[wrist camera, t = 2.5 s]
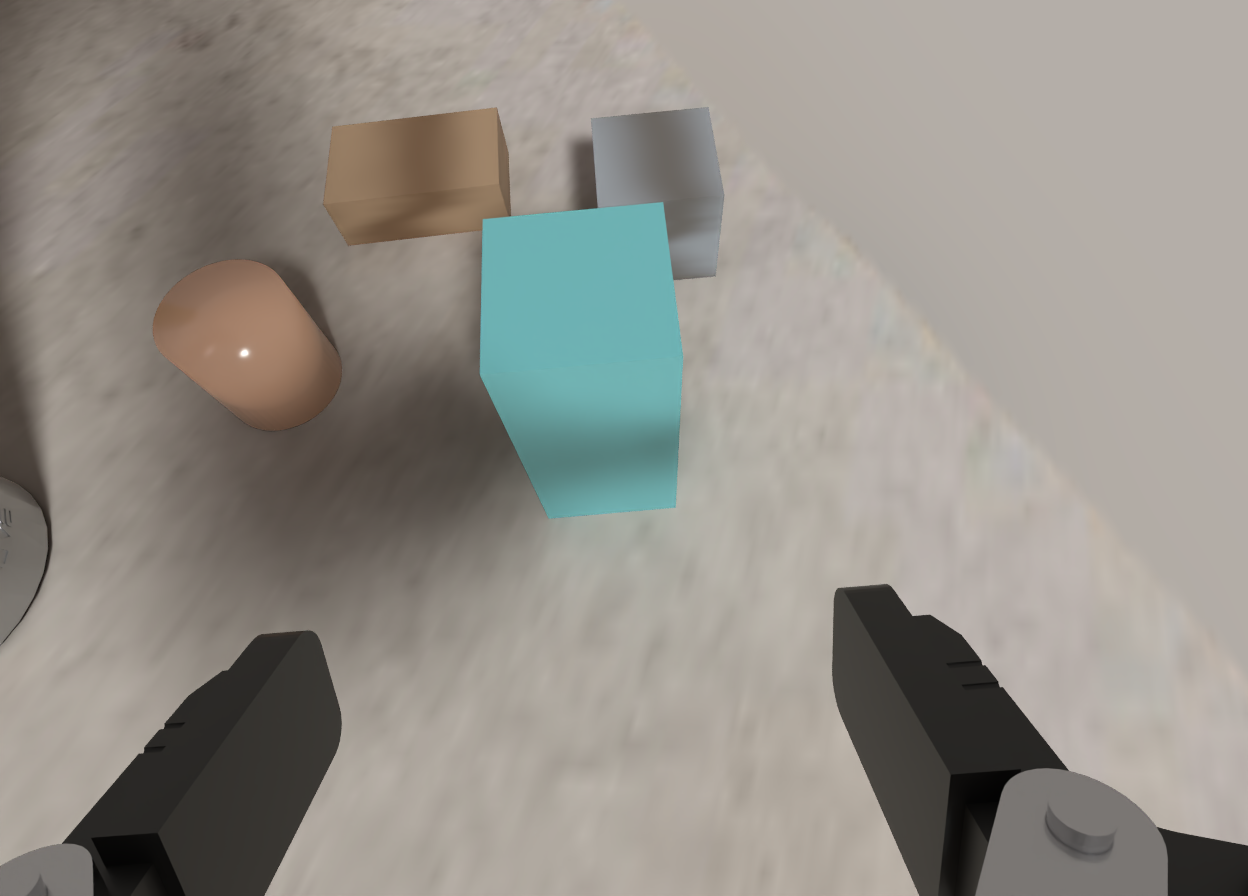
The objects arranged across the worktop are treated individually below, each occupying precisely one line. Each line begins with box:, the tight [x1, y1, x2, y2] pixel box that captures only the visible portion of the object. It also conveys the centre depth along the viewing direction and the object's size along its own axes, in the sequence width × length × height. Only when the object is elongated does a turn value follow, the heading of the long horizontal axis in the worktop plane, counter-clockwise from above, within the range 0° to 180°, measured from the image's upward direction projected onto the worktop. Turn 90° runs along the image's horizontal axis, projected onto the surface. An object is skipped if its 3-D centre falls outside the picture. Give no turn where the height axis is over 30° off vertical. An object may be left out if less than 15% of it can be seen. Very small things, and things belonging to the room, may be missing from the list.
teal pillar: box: [480, 202, 683, 518], centre depth 23 cm, size 5×5×11 cm
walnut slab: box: [323, 108, 511, 246], centre depth 33 cm, size 8×5×3 cm, turn 96°
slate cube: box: [591, 107, 724, 280], centre depth 30 cm, size 5×5×5 cm
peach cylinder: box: [153, 259, 342, 431], centre depth 28 cm, size 5×5×5 cm
